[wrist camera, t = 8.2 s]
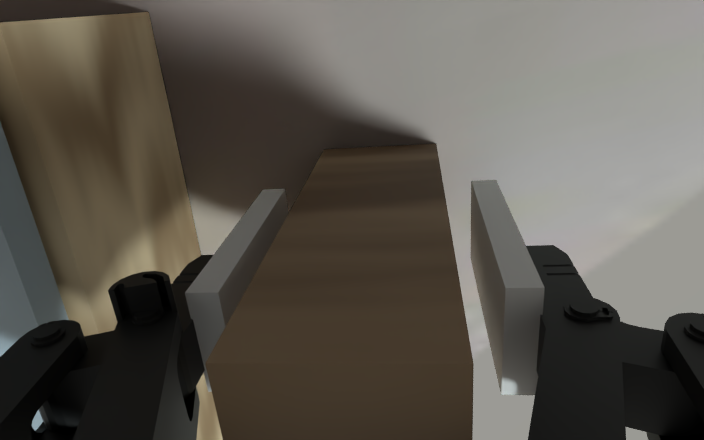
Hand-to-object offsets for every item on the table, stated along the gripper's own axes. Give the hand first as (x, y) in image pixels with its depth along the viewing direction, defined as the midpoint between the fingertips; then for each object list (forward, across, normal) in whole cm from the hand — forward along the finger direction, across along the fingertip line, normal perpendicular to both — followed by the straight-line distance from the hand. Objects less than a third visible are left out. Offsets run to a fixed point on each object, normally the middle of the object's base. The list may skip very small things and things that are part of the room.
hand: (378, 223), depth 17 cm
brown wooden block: (+2, 0, 0) cm, 2 cm away
